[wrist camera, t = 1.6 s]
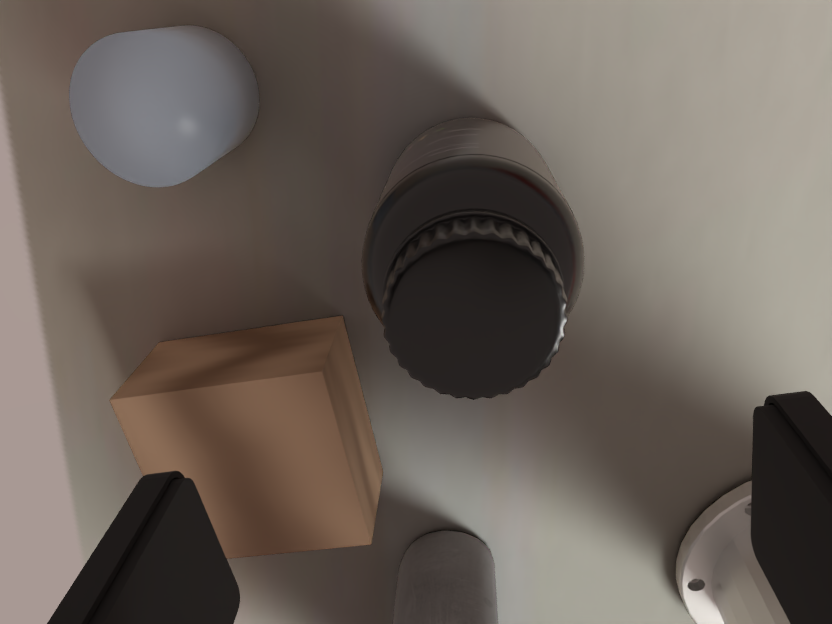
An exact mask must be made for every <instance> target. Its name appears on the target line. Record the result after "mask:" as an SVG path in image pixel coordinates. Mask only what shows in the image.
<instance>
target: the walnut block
mask: <svg viewBox="0 0 832 624" xmlns="http://www.w3.org/2000/svg"><path fill="white" fill-rule="evenodd" d="M109 401H110V403H111V405H112V407H113V410H114V412H115V414H116V416H117V418H118V421H119V423H120V425H121V427H122V430H123V432H124V434H125V436H126V439H127V441H128V443H129V445H130V448H131V450H132V452H133V454H134V456H135V459H136V461H137V463H138V465H139V468H140V470H141V472H142V474H143V476H145V475H147V474H154V473H162V472H170V471H180V472H181V473H182V474H183V475H184V477H185V478H191V479H192V480H193V482H194V483H195V486H196V488H197V490H198V493H199V495H200V497H201V500H202V502H203V504H204V507H205V509H206V512H207V514H208V516H209V519H210V521H211V523H212V526H213V528H214V530H215V533H216V535H217V538H218V540H219V542H220V545H221V547H222V549H223V552H224V554H225V556H226V559H229V558H239V557H249V556H259V555H269V554H280V553H290V552H300V551H310V550H320V549H331V548H341V547H351V546H361V545H371V544H372V537H373V531H374V525H375V519H376V513H377V507H378V500H379V494H380V488H381V482H382V476H383V469H382V466H381V462H380V458H379V454H378V450H377V446H376V442H375V439H374V435H373V431H372V427H371V423H370V419H369V415H368V412H367V408H366V404H365V400H364V396H363V392H362V388H361V385H360V381H359V377H358V373H357V369H356V365H355V361H354V358H353V354H352V350H351V346H350V342H349V338H348V334H347V331H346V327H345V323H344V319H343V316H336V317H329V318H322V319H315V320H308V321H302V322H295V323H288V324H281V325H274V326H267V327H260V328H254V329H247V330H240V331H233V332H226V333H219V334H213V335H206V336H199V337H192V338H185V339H178V340H172V341H165V342H159V343H158V344H157V345H156V347H155V348H154V349H153V350H152V351H151V352H150V354H149V355H148V356H147V357H146V358H145V359H144V361H143V362H142V363H141V364H140V365H139V366H138V367H137V369H136V370H135V371H134V372H133V373H132V374H131V376H130V377H129V378H128V379H127V380H126V381H125V382H124V384H123V385H122V386H121V387H120V388H119V389H118V391H117V392H116V393H115V394H114V395H113V396H112V398H111V399H110V400H109Z"/></svg>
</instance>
